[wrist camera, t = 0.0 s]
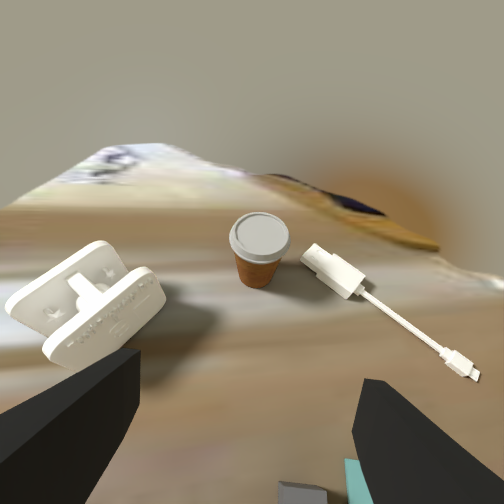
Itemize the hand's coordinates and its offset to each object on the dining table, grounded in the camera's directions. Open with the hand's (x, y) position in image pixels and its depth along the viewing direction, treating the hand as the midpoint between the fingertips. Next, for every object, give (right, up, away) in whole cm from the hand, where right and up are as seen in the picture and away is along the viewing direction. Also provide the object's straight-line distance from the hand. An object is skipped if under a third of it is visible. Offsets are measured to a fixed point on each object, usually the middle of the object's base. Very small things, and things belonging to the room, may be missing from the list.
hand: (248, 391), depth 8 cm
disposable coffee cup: (+1, 0, +41) cm, 41 cm away
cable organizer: (-22, -7, +34) cm, 41 cm away
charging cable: (+22, -6, +38) cm, 44 cm away
